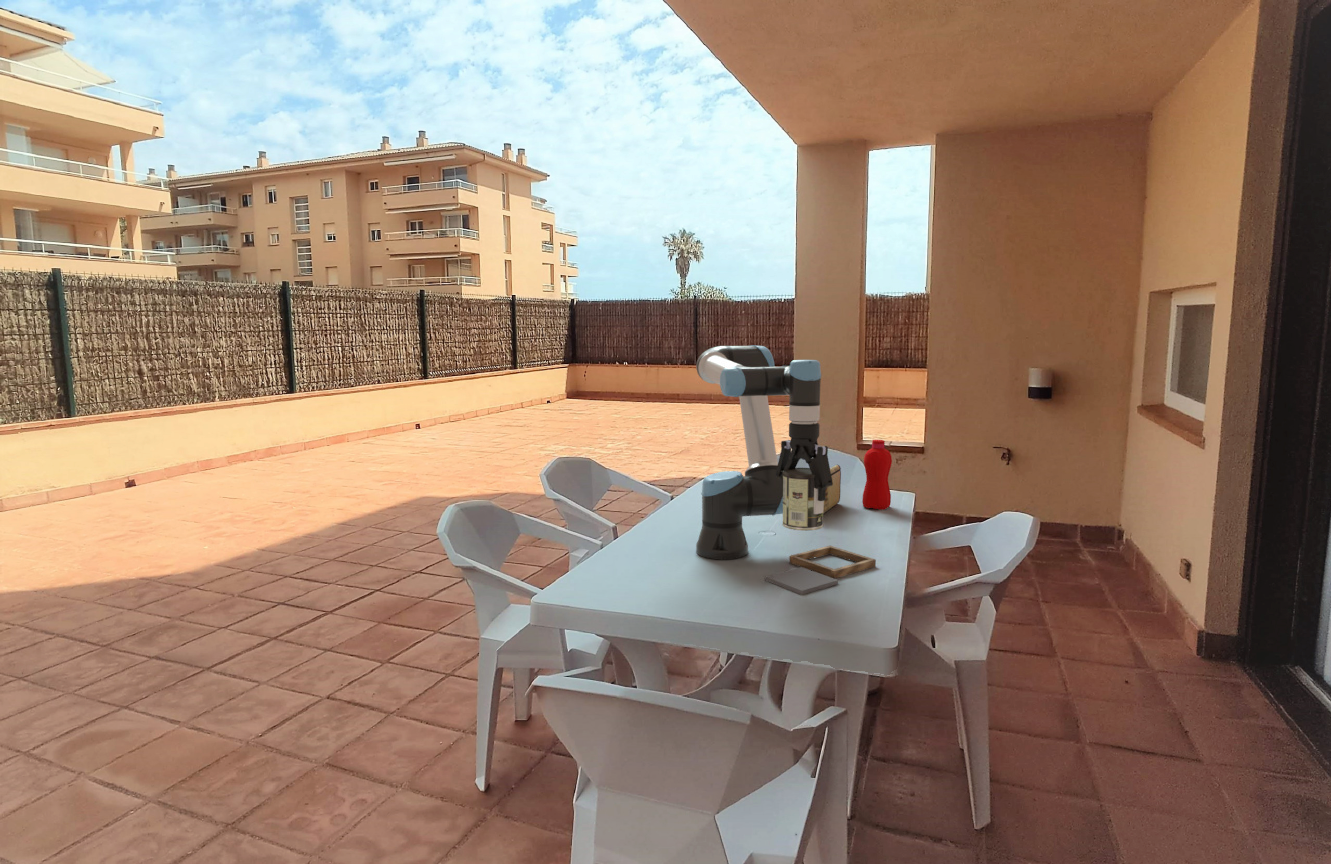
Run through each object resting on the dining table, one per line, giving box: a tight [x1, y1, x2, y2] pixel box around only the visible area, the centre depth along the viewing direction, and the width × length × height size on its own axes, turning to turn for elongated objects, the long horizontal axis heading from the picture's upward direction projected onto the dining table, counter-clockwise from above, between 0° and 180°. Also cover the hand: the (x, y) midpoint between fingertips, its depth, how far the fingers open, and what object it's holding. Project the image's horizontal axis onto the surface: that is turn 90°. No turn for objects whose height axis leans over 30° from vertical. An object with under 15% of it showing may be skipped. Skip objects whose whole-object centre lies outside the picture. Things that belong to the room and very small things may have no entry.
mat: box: [764, 566, 839, 595], centre depth 185 cm, size 13×13×1 cm
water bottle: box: [861, 439, 893, 511], centre depth 263 cm, size 9×11×25 cm
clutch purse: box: [823, 464, 842, 515], centre depth 259 cm, size 30×7×15 cm, turn 151°
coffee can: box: [782, 467, 824, 531], centre depth 182 cm, size 10×10×14 cm
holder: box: [788, 545, 877, 579], centre depth 199 cm, size 16×16×2 cm
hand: (802, 509), depth 183 cm, fingers closed on coffee can, 10 cm apart
